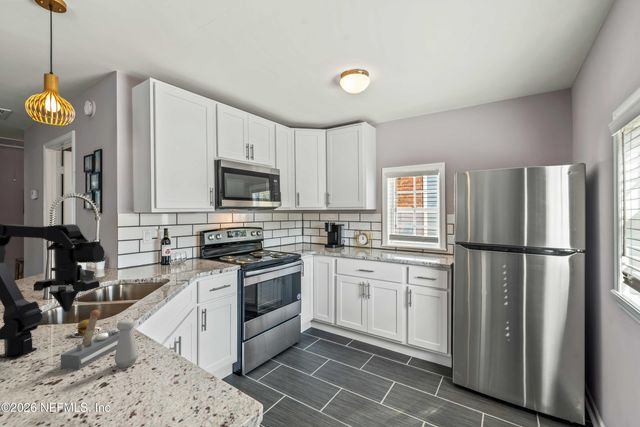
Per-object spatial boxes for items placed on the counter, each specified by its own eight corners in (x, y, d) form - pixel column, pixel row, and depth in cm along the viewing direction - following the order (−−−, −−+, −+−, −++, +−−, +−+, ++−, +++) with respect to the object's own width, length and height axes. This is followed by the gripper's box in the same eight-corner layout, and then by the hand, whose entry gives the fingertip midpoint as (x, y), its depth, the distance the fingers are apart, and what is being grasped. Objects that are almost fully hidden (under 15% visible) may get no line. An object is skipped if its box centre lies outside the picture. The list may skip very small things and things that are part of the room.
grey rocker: (107, 333, 102) (107, 331, 102) (111, 331, 103) (111, 329, 103) (115, 332, 101) (115, 329, 101) (120, 329, 103) (119, 327, 103)
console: (60, 368, 87) (60, 349, 87) (112, 342, 105) (111, 325, 105) (79, 369, 87) (79, 350, 87) (128, 342, 104) (127, 326, 104)
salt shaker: (126, 370, 86) (125, 324, 85) (109, 368, 87) (108, 323, 87) (142, 360, 91) (141, 317, 91) (126, 359, 92) (125, 316, 92)
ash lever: (78, 344, 91) (89, 310, 90) (85, 341, 93) (96, 307, 93) (85, 348, 91) (96, 313, 90) (92, 344, 93) (102, 310, 92)
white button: (93, 340, 97) (93, 336, 96) (102, 336, 100) (102, 332, 100) (102, 340, 96) (102, 336, 96) (110, 336, 99) (110, 332, 99)
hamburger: (109, 334, 114) (109, 319, 114) (68, 344, 106) (68, 328, 106) (102, 326, 123) (102, 312, 123) (64, 335, 114) (63, 320, 114)
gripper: (112, 259, 105) (113, 304, 105) (65, 259, 108) (66, 303, 108) (83, 264, 94) (84, 315, 94) (31, 264, 97) (32, 313, 97)
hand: (67, 311), depth 98 cm, fingers closed
